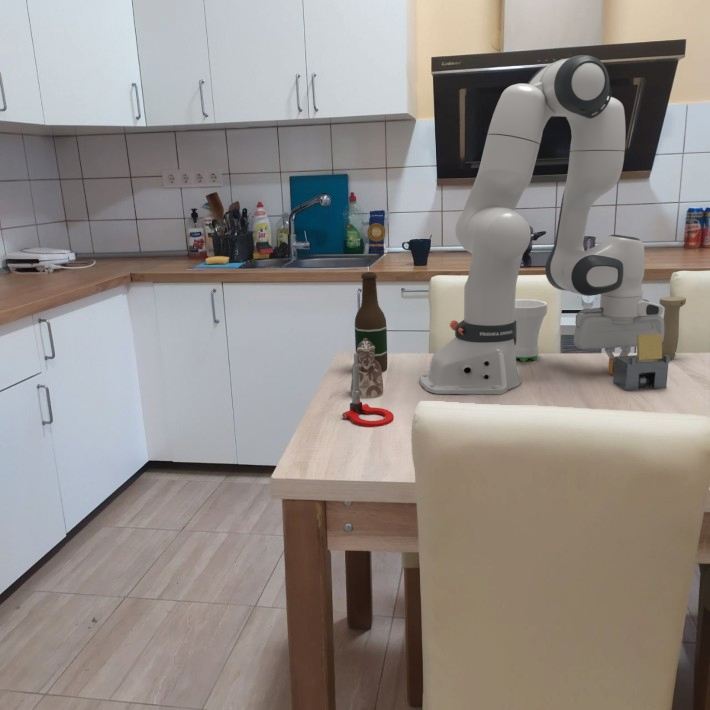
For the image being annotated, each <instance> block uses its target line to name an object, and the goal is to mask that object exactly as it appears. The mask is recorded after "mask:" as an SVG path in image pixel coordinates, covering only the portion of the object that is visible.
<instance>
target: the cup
mask: <svg viewBox="0 0 710 710" xmlns="http://www.w3.org/2000/svg"><path fill="white" fill-rule="evenodd" d="M547 313H548V303H547V302H546V301H544V300H539V299H530V298H529V299H527V298H525V299H522V298H521V299H520V298H519V299H516V298H515V320H516V326H517V340H516V345H515V355H516V360H517V359H519V360H520V361H521V362H523V361H525V362H527V361H528V360H533V361H535V360H537V359H538V357H539V356H538V355H539V345H538V344H539V343H538V342H539V334H540V329H541V326H542V324H543V321H544V318H545V316H546V315H547Z"/></svg>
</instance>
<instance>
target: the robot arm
mask: <svg viewBox="0 0 710 710" xmlns="http://www.w3.org/2000/svg"><path fill="white" fill-rule="evenodd" d="M612 95H613V91H612V88H611V85H610V77H609V73H608V69H607V68H606V66H605V64H604V63H603V62H602V61H601V60H600V58H597V57H595V56H592V55H586V54H585V55H584V54H580V55H579V54H578V55H575V56H572V57H568V58H563V59H559V60H556V61H554V62H552V63H550V64H549V65H546V66H544V67H542V68H540V69H538V71H536V72H535V74H533V75H532V77H531V78H530V79H529V81H528V82H527V83H516V84H512V85H510V86H508V87H507V88H505V89H504V90H503V92H502V93H501V95H500V98H499V99H498V101H497V104H496V106H495V109H494V111H493V113H492V118H491V121H490V124H489V126H488V130H487V135H486V138H485V143H484V147H483V152H482V156H481V161H480V163H479V164H480V165H479V168H478V172H477V175H476V177H475V180H474V183H473V186H472V188H471V190H470V191H469V192H470V193H469V195H468V197H467V200H466V202H465V205H464V207H463V210H462V213H461V214H460V215H459V216H458V219H457V220H456V224H455V228H454V230H455V236H456V239H457V241H458V243H459V244H460V246H461V247H462V248H463V249H464V250H465V251H467V252H468V253H470V254H471V260H470V261H471V262H470V266H469V271H468V276H467V280H466V281H465V284H464V287H463V290H464V292H463V297H464V299H463V306H464V307H463V310H464V311H463V319H462V320H461V321H460V322H458V321H457V320H455V319H454V320H451V321H450V323H449V327H450V329H451V330H452V331H454V336H455V337H454V338H452V339H451V340H450V341H449V342H447V343H446V344H445V345H443V346H442V347H441V348H440V349H438V350H437V351H436V352H434V353H433V355H432V357H431V360H430V366H429V371H427V372H423V373H422V374H420V379H419V382H420V385H421V386H422V388H423V389H424V390H426V391H428V392H430V393H433V394H436V395H442V394H443V395H446V394H447V395H451V394H452V395H457V394H458V395H494V394H495V395H502V394H505V393H506V392H508V390H511V389H514V388H515V387H518V386H519V385H520V384H521V382H522V381H521V378H520V375H519V370H518V365H517V359H516V355H515V345H516V340H517V326H516V320H515V300H516V291H517V281H518V277H519V272H520V268H521V263H522V261H523V256H524V253H525V252H526V250H528V247H529V246H530V245H529V244H530V243H531V238H532V237H531V236H532V232H531V231H532V230H531V228H530V225H529V223H528V221H527V220H526V219H525V218H524V217H523V216H522V215H521V214H520V213H518V211H516V207H517V205H518V204H519V201H520V200H521V198H522V196H523V194H524V192H525V191H526V189H527V188H529V185H530V183H531V180H532V177H533V173H534V171H535V166H536V161H537V159H538V154H539V150H540V146H541V143H542V137H543V132H544V129H545V127H546V125H547V123H548V121H549V120H550V119H552V118H553V119H554V118H556V117H565V118H566V120H567V121H568V124H569V126H570V130H571V131H570V132H571V141H570V149H569V157H568V158H569V159H568V168H567V169H568V170H567V175H566V176H567V177H566V182H565V185H564V189H563V194H562V198H561V204H560V210H559V215H558V221H557V222H558V223H557V226H556V233H555V240H554V244H553V247H552V249H551V252H550V254H549V256H548V257H547V259H546V263H545V276H546V279H547V281H548V283H549V284H550V285H552V286H553V288H555V289H558V290H560V291H566V292H571V293H574V294H578V295H581V296H586V297H590V296H592V297H593V296H598V295H600V297H599V298H600V299H599V300H600V301H599V307H594V308H583V309H582V310H580V311H578V312H577V313H576V314H575V328H574V336H573V344H574V345H575V346H576V348H578V349H580V350H596V349H597V350H598V349H599V350H600V349H604V351H605V354H606V355H607V357H608V360H609V359H614V358H615V355H614V354H613V353H615V352H616V348H619V349H620V350H621V351H620V354H619V355H618V356H629V354H630V352H631V348H634V347H637V335H644V334H662V342H663V340H664V320H663V318H664V317H663V316H662V314H664V307H663V306H662V305H661V304H659V303H655V302H652V301H650V300H647V299H646V298H644V299H643V289H642V283H643V279H644V276H645V269H646V268H645V265H646V261H645V260H646V254H645V246H644V243H643V241H642V240H641V239H640V238H638V237H634V236H627V235H622V234H611V235H608V236H607V237H606V238H605V239H604V240H603V241H601V242H600V243H599V244H597V245H595V246H593V247H591V248H588V249H586V250H585V247H584V240H585V239H584V238H585V234H586V228H587V224H588V223H587V222H588V219H589V218H588V216H589V213H590V210H591V208H592V206H593V205H594V203H596V201H597V200H598V199H600V198H601V197H602V196H603V195H605V194H606V193H608V192H609V191H611V190H612V189H613V188H614V187H615V186H616V185H617V184H618V182H619V180H620V177H621V174H622V172H623V168H624V167H623V166H624V160H625V151H626V150H625V149H626V135H627V134H626V132H627V131H626V115H625V108H624V104H623V103H622V102H621V101H620V100H618V99H617V98H615V97H613V96H612Z"/></svg>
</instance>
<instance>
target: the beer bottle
mask: <svg viewBox="0 0 710 710" xmlns="http://www.w3.org/2000/svg"><path fill="white" fill-rule="evenodd" d="M360 278H361V279H362V283H361V284H362V287H361V288H362V290H361V304H360V307H359V309H358V310H357V312H356V316H355V319H354V338H355V339H354V340H355V341H354V342H355V343H354V344H355V353H357V347H358V345H359V343H360V342H362V341H363V339H364V338H367V339H368V341H370V342H371V343H372V344H373V345H374V346H375V360H377V361H378V363H379V364H380V366H381V370H382V373H384V372H385V371H387V370H388V334H387V332H388V329H387V319H386V316H385V313H384V312H383V310H382V309H381V307H380V305H379V301H378V289H377V288H378V287H377V280H376V279H377V278H378V276H377V273H375V272H374V271H373V272H372V271H369V272H367V271H366V272H363V273H361V276H360Z"/></svg>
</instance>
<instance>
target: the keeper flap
mask: <svg viewBox="0 0 710 710" xmlns="http://www.w3.org/2000/svg"><path fill="white" fill-rule="evenodd" d="M636 355H637V359H636V363H647V362H664V358H662V334H644V335H637V346H636Z"/></svg>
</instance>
